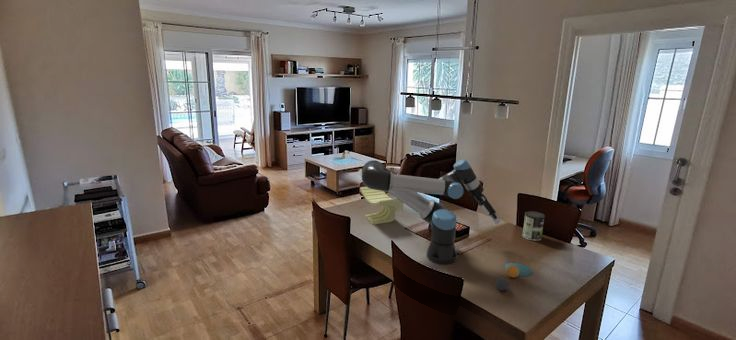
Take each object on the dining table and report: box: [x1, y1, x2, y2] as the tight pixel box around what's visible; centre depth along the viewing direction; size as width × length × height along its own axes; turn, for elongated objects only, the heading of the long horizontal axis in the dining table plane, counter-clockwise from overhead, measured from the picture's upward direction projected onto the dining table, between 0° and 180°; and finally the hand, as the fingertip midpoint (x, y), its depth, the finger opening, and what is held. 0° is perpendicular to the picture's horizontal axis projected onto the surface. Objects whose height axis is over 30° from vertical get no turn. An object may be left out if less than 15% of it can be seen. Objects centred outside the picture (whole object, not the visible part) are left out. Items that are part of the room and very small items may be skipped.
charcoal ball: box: [495, 276, 510, 292], centre depth 157 cm, size 6×6×6 cm
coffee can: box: [522, 210, 546, 242], centre depth 210 cm, size 10×10×14 cm
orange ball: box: [505, 265, 519, 278], centre depth 168 cm, size 6×6×6 cm
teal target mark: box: [504, 262, 533, 277], centre depth 175 cm, size 12×12×1 cm
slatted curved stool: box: [359, 186, 404, 225], centre depth 232 cm, size 30×16×18 cm, turn 23°
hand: (492, 218), depth 196 cm, fingers open, 13 cm apart
